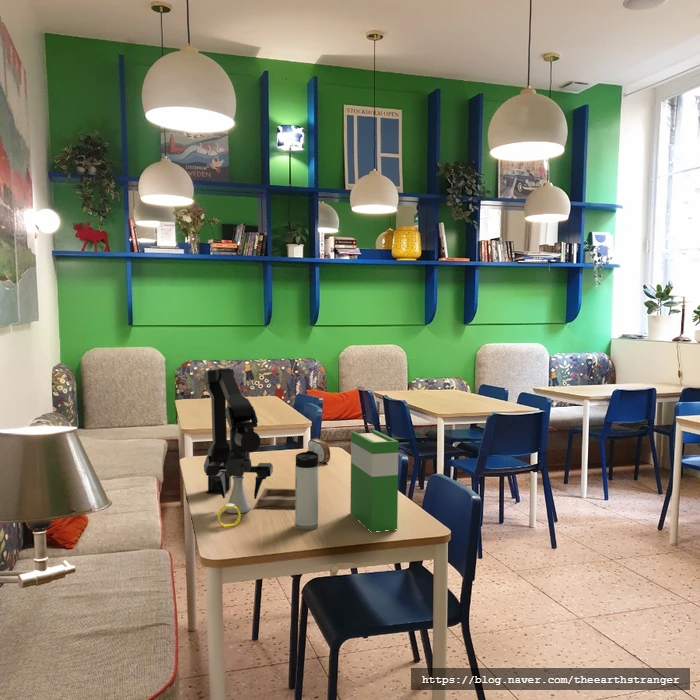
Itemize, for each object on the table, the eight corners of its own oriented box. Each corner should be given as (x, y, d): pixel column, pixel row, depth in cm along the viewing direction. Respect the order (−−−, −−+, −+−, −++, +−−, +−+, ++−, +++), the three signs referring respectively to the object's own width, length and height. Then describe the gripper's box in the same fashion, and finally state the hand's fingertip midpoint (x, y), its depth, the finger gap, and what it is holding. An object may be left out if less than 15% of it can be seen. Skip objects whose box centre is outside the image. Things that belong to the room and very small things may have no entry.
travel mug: (321, 523, 172) (321, 451, 171) (314, 530, 166) (314, 456, 165) (299, 521, 173) (299, 450, 172) (291, 529, 167) (292, 454, 166)
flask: (250, 513, 180) (250, 479, 179) (225, 514, 179) (225, 480, 178) (250, 506, 187) (250, 473, 187) (225, 507, 186) (225, 474, 185)
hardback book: (350, 513, 181) (351, 431, 180) (374, 511, 184) (375, 430, 182) (371, 533, 164) (372, 442, 163) (397, 530, 167) (398, 441, 166)
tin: (330, 464, 243) (331, 443, 242) (323, 465, 241) (323, 443, 241) (313, 457, 256) (313, 436, 255) (306, 457, 254) (306, 437, 254)
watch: (238, 524, 171) (240, 502, 171) (240, 527, 169) (242, 505, 169) (216, 525, 169) (218, 503, 169) (218, 528, 167) (219, 506, 166)
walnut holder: (258, 507, 186) (258, 499, 186) (265, 496, 198) (265, 488, 198) (298, 508, 186) (298, 499, 185) (302, 496, 198) (302, 488, 197)
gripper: (200, 450, 174) (200, 505, 175) (267, 451, 174) (266, 507, 175) (210, 443, 186) (210, 494, 186) (273, 443, 185) (273, 495, 186)
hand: (239, 498), depth 183 cm, fingers open, 9 cm apart
